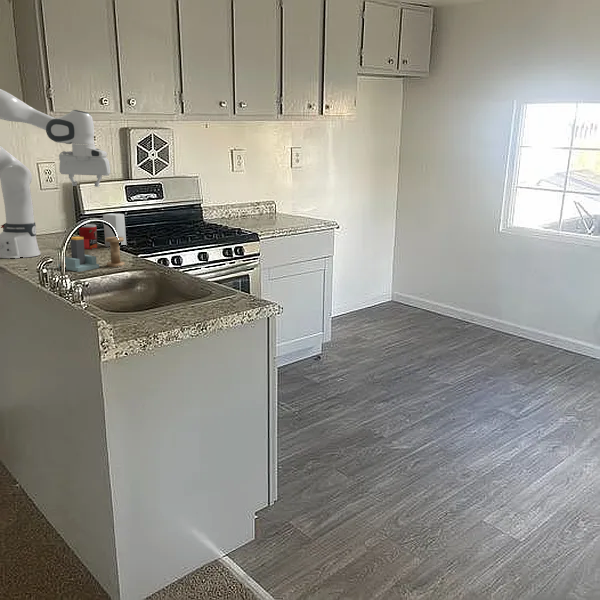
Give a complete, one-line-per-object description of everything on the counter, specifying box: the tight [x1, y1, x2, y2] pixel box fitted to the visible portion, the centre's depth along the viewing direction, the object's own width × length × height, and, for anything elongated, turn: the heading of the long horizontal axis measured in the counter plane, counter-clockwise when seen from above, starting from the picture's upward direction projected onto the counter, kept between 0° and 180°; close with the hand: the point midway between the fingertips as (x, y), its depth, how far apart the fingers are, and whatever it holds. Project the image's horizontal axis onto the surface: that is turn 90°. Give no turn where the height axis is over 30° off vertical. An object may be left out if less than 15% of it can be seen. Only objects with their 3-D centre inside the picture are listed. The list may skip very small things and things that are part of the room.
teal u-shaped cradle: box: [57, 254, 100, 273], centre depth 244 cm, size 12×10×4 cm
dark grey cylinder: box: [70, 235, 86, 265], centre depth 243 cm, size 4×4×11 cm
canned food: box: [78, 223, 98, 250], centre depth 289 cm, size 8×8×11 cm
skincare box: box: [102, 213, 127, 247], centre depth 296 cm, size 8×7×16 cm
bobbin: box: [104, 237, 126, 268], centre depth 249 cm, size 7×7×11 cm
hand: (85, 186), depth 253 cm, fingers open, 8 cm apart
